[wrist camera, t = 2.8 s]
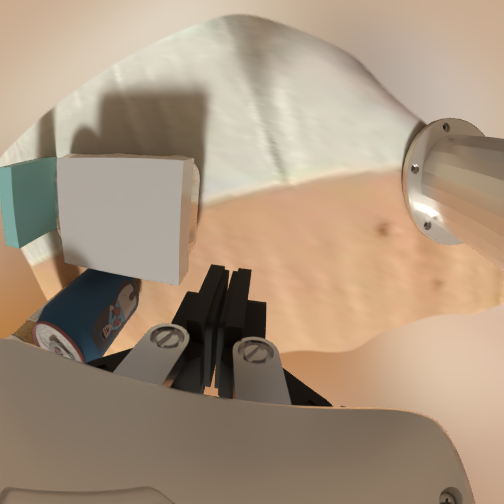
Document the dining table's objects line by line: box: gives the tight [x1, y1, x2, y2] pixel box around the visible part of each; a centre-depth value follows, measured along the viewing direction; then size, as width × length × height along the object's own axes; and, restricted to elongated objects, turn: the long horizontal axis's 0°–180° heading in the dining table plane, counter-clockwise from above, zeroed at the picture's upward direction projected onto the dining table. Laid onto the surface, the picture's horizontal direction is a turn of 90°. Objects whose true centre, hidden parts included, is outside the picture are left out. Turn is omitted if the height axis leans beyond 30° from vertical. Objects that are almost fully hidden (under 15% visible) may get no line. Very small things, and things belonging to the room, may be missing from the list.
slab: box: [57, 155, 194, 286], centre depth 20 cm, size 11×9×2 cm
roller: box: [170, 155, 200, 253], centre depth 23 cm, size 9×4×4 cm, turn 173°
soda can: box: [33, 268, 139, 364], centre depth 24 cm, size 7×7×12 cm
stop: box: [0, 157, 57, 248], centre depth 22 cm, size 2×8×7 cm, turn 173°
